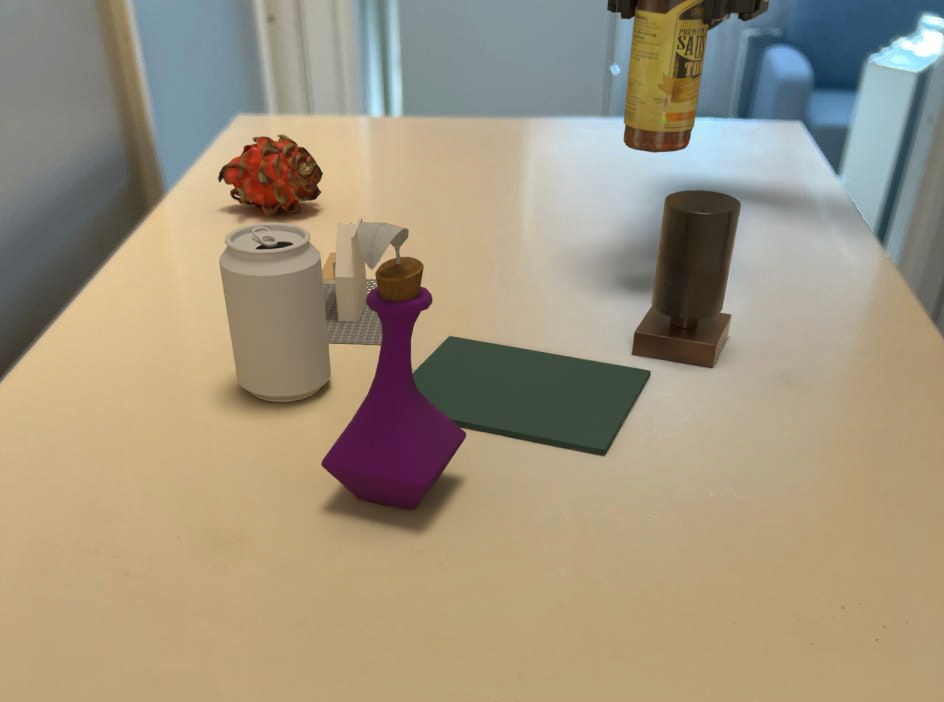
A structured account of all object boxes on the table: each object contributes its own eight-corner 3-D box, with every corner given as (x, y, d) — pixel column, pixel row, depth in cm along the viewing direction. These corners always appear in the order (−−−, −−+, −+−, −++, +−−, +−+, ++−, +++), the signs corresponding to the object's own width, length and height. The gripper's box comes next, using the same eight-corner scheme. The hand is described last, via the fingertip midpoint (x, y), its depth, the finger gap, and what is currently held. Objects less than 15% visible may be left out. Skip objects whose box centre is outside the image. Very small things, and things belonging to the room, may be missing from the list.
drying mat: (650, 375, 82) (651, 370, 82) (604, 455, 72) (605, 449, 72) (449, 340, 87) (449, 335, 87) (380, 410, 77) (380, 405, 77)
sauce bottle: (675, 160, 86) (711, -130, 73) (609, 149, 88) (633, -133, 75) (702, 142, 90) (742, -135, 77) (639, 133, 92) (667, -137, 80)
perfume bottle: (371, 454, 72) (355, 194, 60) (467, 474, 70) (470, 209, 58) (323, 506, 67) (295, 232, 55) (425, 530, 65) (419, 250, 53)
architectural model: (321, 320, 90) (313, 237, 85) (333, 291, 95) (326, 211, 90) (358, 321, 90) (353, 237, 85) (368, 292, 95) (364, 212, 90)
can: (262, 415, 76) (240, 258, 68) (224, 378, 81) (199, 228, 73) (348, 391, 79) (336, 238, 72) (306, 357, 84) (291, 210, 76)
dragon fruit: (333, 229, 113) (234, 240, 115) (335, 165, 115) (238, 177, 117) (309, 178, 105) (203, 192, 107) (312, 111, 107) (208, 125, 109)
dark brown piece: (727, 335, 88) (754, 194, 80) (712, 367, 83) (739, 220, 75) (650, 323, 90) (669, 183, 82) (631, 354, 85) (649, 208, 77)
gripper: (636, -74, 92) (585, -54, 80) (795, -68, 88) (766, -45, 76) (627, 20, 96) (578, 53, 85) (777, 31, 92) (747, 66, 81)
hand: (667, 6), depth 80 cm, fingers closed on sauce bottle, 6 cm apart
